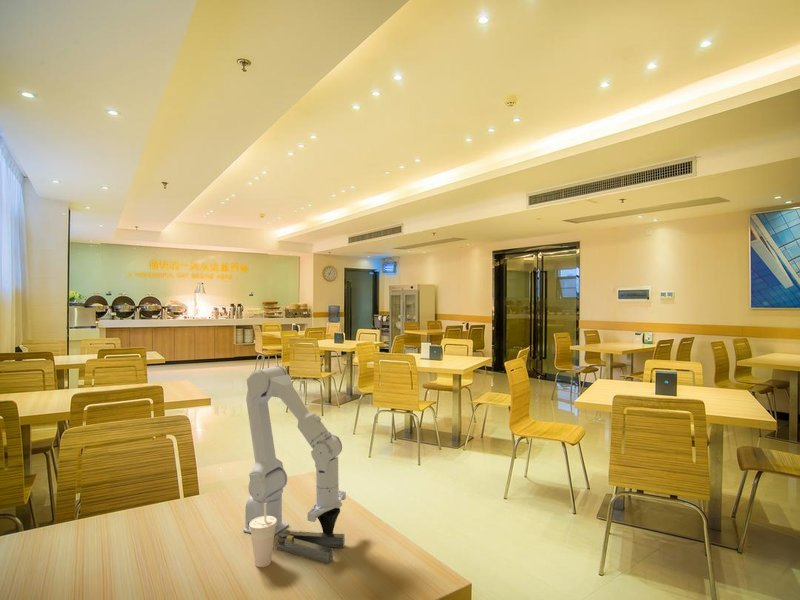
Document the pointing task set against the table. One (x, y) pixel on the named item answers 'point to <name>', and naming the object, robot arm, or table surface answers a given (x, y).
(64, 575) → the table surface
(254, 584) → the table surface
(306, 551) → the tongs base
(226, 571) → the table surface
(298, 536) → the bar
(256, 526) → the smoothie
